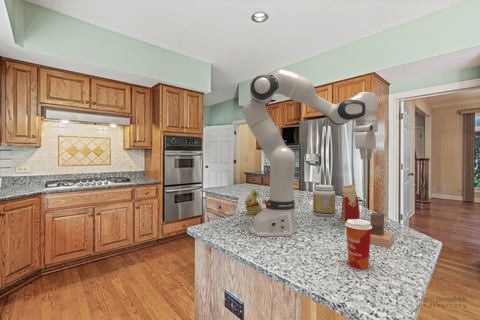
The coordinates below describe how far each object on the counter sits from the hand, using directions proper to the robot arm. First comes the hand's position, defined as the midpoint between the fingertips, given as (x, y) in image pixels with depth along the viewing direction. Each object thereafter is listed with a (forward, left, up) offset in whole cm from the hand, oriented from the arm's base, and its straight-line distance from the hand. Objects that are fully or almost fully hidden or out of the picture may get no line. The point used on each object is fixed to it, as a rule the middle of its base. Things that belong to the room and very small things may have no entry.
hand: (366, 159), depth 107 cm
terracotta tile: (-4, -11, -33) cm, 35 cm away
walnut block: (-4, -11, -30) cm, 32 cm away
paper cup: (-26, -27, -33) cm, 50 cm away
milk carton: (+4, +16, -33) cm, 37 cm away
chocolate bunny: (-41, +41, -33) cm, 67 cm away
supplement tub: (-1, +32, -33) cm, 46 cm away
